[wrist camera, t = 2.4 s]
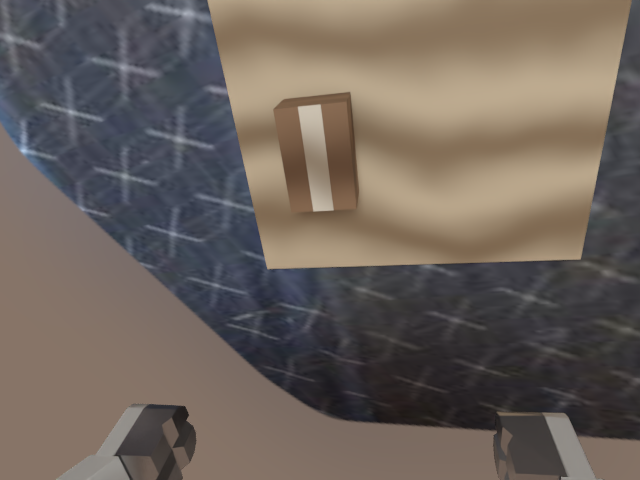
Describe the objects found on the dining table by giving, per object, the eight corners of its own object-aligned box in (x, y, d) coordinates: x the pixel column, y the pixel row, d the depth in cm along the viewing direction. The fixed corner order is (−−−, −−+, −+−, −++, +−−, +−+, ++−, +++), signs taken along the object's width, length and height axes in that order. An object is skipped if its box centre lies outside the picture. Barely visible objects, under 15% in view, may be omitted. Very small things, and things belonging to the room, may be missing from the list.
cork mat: (210, -4, 27) (206, -4, 26) (640, -72, 22) (646, -73, 22) (269, 265, 36) (267, 268, 36) (577, 254, 32) (580, 259, 31)
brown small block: (283, 99, 28) (273, 109, 26) (350, 91, 28) (346, 101, 25) (299, 195, 32) (291, 212, 29) (359, 191, 31) (356, 209, 28)
